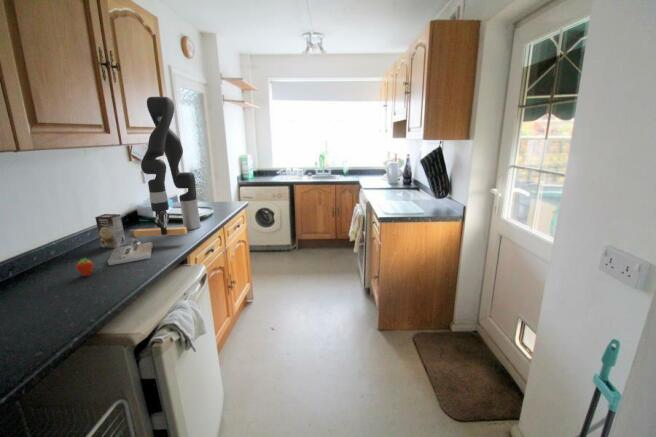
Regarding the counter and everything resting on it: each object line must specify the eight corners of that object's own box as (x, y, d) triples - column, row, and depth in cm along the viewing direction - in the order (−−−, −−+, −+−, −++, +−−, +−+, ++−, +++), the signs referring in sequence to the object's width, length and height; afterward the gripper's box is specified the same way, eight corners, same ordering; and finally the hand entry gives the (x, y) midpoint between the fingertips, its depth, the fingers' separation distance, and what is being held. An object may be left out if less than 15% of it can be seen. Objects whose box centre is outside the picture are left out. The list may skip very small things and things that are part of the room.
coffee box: (101, 247, 156) (93, 217, 152) (110, 243, 162) (104, 213, 158) (117, 247, 155) (111, 217, 151) (127, 243, 161) (120, 213, 157)
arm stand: (130, 244, 160) (128, 236, 159) (141, 242, 162) (140, 234, 161) (129, 247, 155) (127, 239, 154) (140, 245, 158) (139, 237, 156)
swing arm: (128, 237, 155) (127, 231, 155) (132, 234, 159) (130, 229, 158) (185, 234, 157) (184, 229, 157) (187, 232, 161) (186, 226, 160)
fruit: (76, 279, 122) (71, 260, 120) (83, 273, 127) (79, 255, 125) (91, 277, 123) (87, 259, 121) (98, 272, 128) (93, 254, 126)
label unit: (115, 251, 150) (114, 247, 149) (152, 245, 157) (151, 241, 156) (108, 265, 135) (107, 260, 134) (150, 258, 141) (149, 253, 141)
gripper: (157, 198, 157) (162, 231, 161) (144, 203, 144) (150, 238, 148) (172, 197, 157) (177, 230, 162) (161, 203, 145) (166, 238, 149)
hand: (164, 234), depth 155 cm, fingers closed
